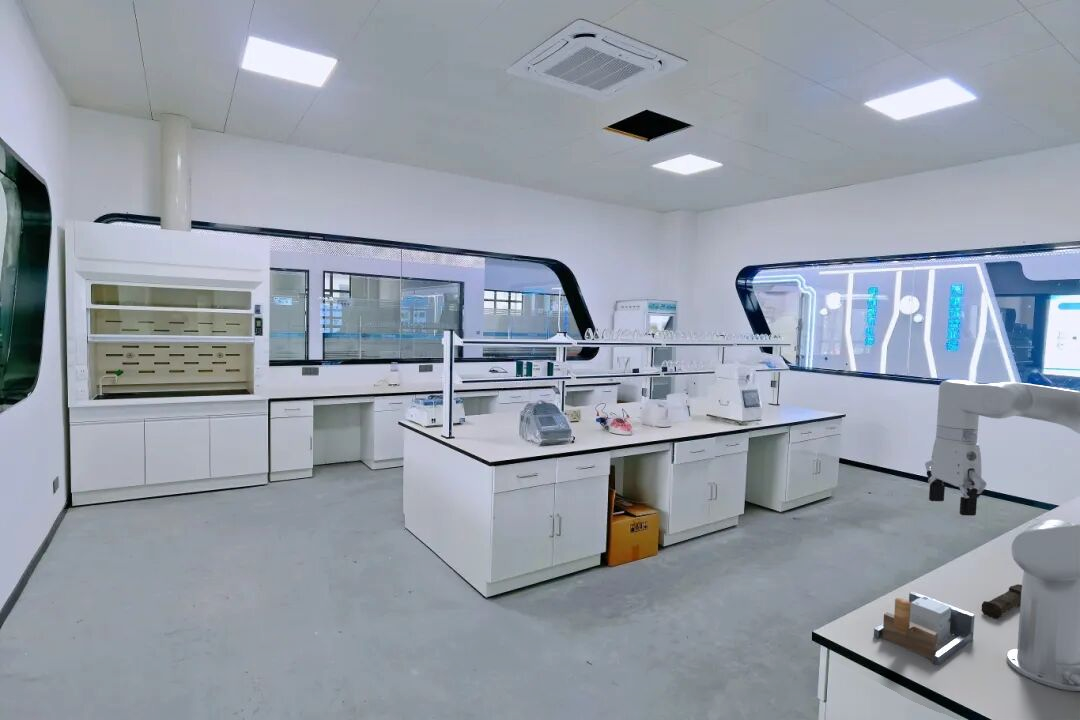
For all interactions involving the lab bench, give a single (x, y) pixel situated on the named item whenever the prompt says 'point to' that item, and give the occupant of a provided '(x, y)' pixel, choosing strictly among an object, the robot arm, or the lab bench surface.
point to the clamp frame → (958, 626)
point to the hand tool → (1003, 602)
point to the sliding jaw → (908, 631)
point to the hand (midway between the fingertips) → (951, 507)
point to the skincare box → (932, 616)
